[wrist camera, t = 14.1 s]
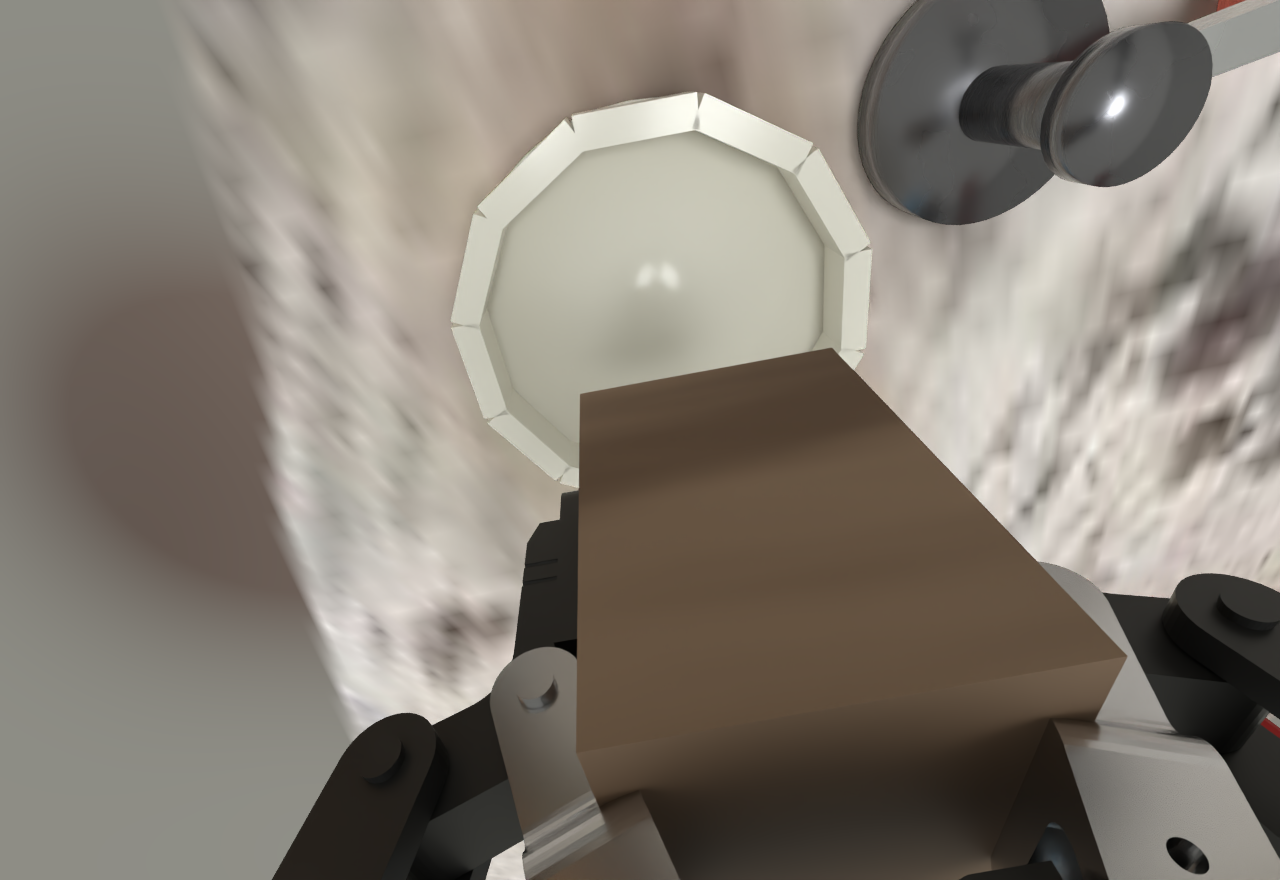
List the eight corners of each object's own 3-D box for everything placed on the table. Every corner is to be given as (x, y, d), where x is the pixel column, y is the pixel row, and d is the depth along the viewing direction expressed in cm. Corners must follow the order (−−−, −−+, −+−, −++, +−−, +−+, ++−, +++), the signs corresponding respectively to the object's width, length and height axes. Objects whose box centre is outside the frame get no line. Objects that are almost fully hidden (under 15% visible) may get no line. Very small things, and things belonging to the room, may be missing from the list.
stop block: (579, 394, 11) (575, 752, 5) (831, 347, 11) (1128, 656, 5) (624, 572, 14) (655, 941, 8) (826, 535, 14) (1013, 880, 8)
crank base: (819, 85, 18) (933, 83, 12) (1033, -101, 16) (1293, -211, 10) (909, 256, 21) (1033, 320, 15) (1096, 120, 19) (1320, 133, 13)
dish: (386, 294, 20) (361, 318, 18) (699, -20, 16) (718, -37, 14) (634, 514, 26) (638, 553, 24) (900, 329, 22) (935, 355, 20)
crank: (1029, 111, 18) (1125, 116, 15) (1030, 57, 17) (1132, 50, 14) (1351, -13, 17) (1529, -37, 14) (1369, -77, 16) (1562, -118, 13)
